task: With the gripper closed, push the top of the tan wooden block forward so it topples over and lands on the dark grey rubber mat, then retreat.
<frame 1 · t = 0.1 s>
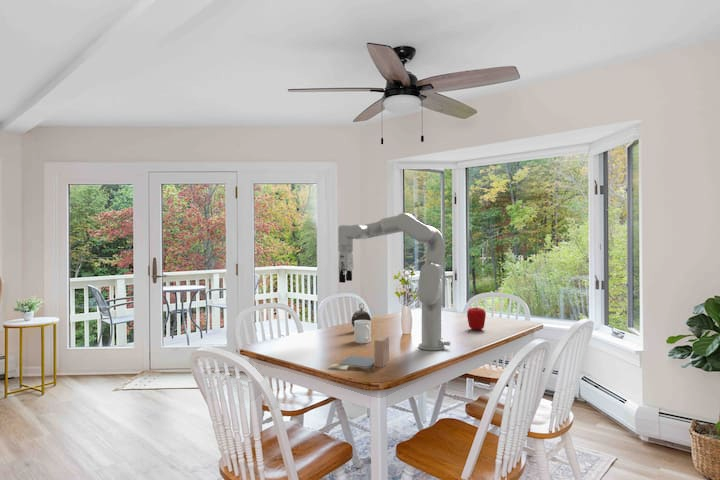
hand: (345, 281, 239), 31 cm above the table, fingers open, 9 cm apart
mat: (359, 361, 199), on the table
red bell pepper: (476, 330, 266), on the table
mug: (364, 342, 236), on the table
turner: (348, 368, 189), on the table
tan wooden block: (381, 364, 196), on the table
alarm clock: (361, 331, 263), on the table
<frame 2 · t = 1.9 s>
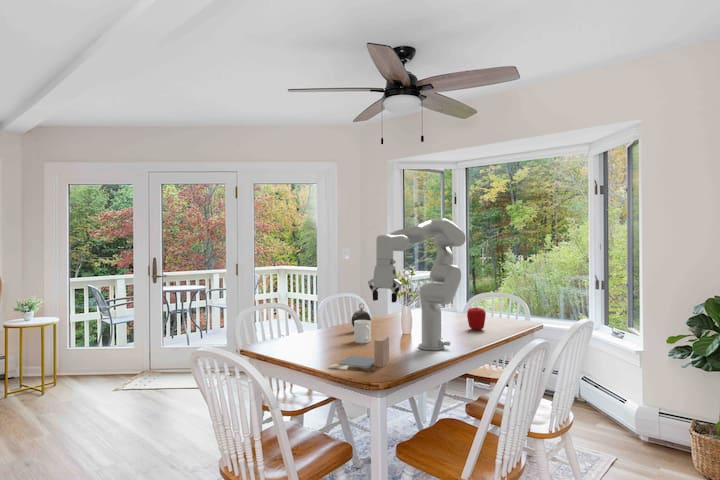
hand: (384, 301, 203), 26 cm above the table, fingers open, 9 cm apart
nothing on the table moved.
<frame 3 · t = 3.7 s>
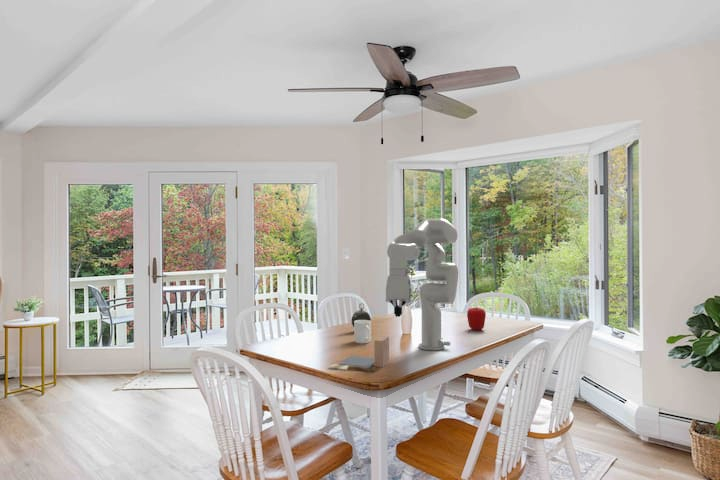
hand: (398, 316, 193), 21 cm above the table, fingers closed
nothing on the table moved.
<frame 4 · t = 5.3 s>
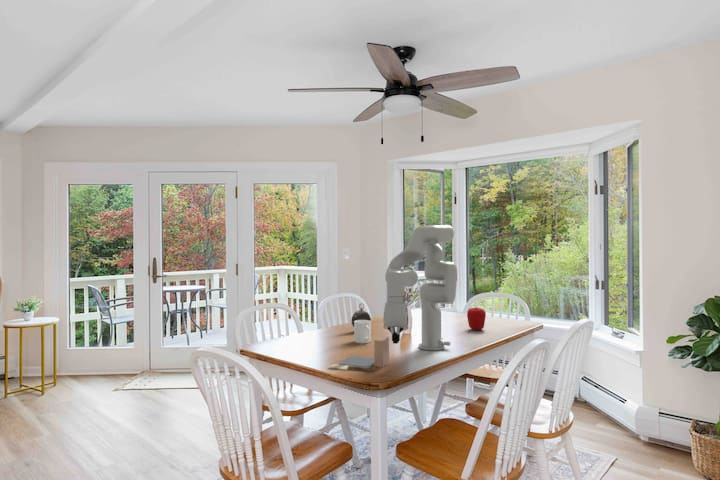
hand: (395, 342, 194), 10 cm above the table, fingers closed
nothing on the table moved.
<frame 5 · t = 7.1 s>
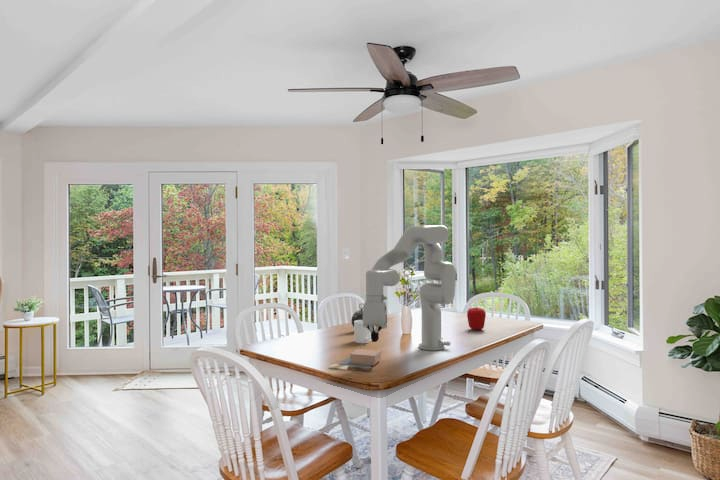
hand: (374, 341, 197), 10 cm above the table, fingers closed
tan wooden block: (377, 358, 197), point 2 cm above the table, tilted 90°, touching mat
everything else where it was.
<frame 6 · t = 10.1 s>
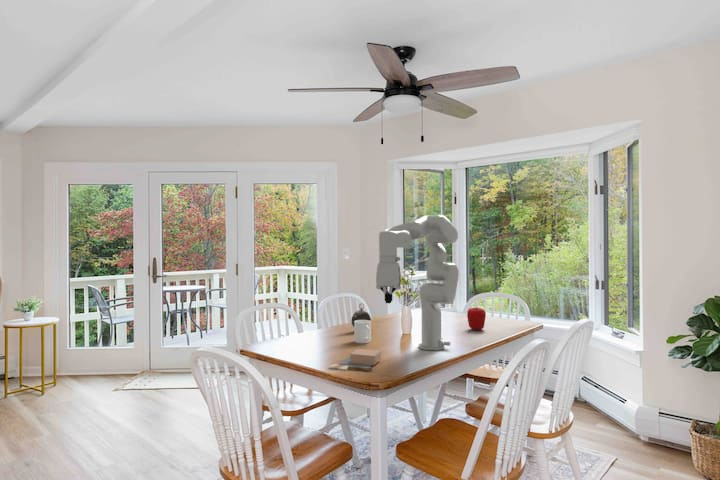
hand: (388, 302, 195), 26 cm above the table, fingers closed
nothing on the table moved.
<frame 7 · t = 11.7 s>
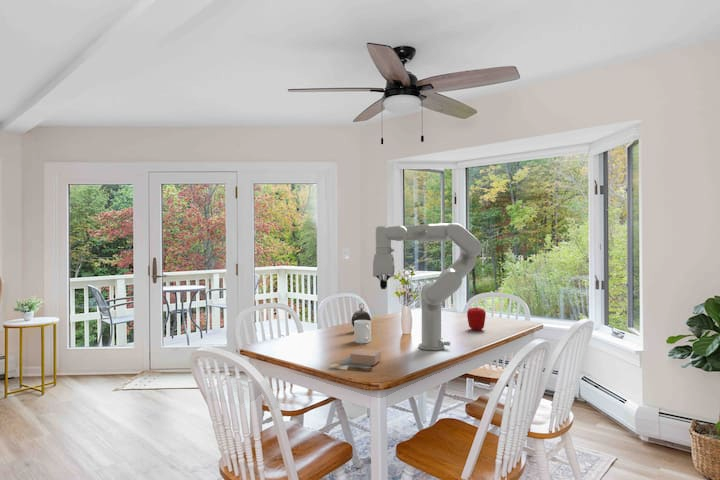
hand: (383, 288, 224), 29 cm above the table, fingers closed
nothing on the table moved.
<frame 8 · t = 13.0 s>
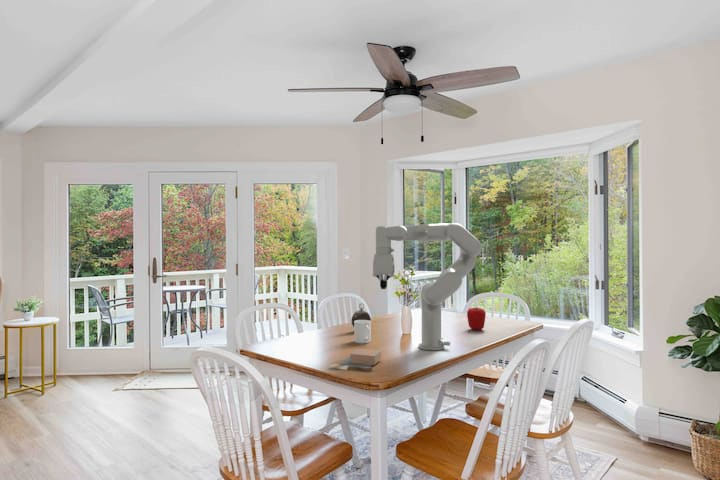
hand: (383, 288, 224), 29 cm above the table, fingers closed
nothing on the table moved.
at the end: tan wooden block tilted 90°; tan wooden block 8.3 cm from the mat (horizontally); tan wooden block point 2.4 cm above the table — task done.
